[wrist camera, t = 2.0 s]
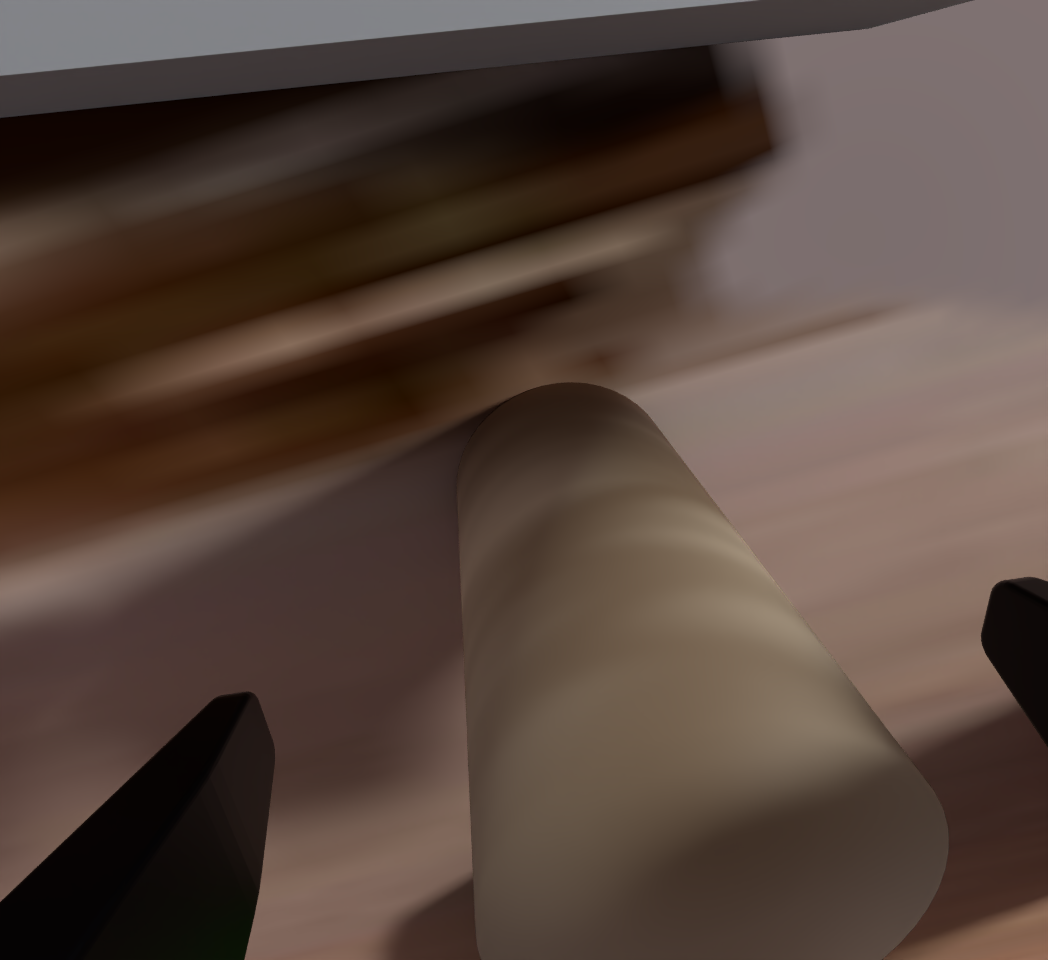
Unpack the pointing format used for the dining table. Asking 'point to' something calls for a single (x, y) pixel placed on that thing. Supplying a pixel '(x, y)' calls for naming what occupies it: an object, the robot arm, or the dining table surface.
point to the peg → (661, 718)
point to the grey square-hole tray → (358, 40)
